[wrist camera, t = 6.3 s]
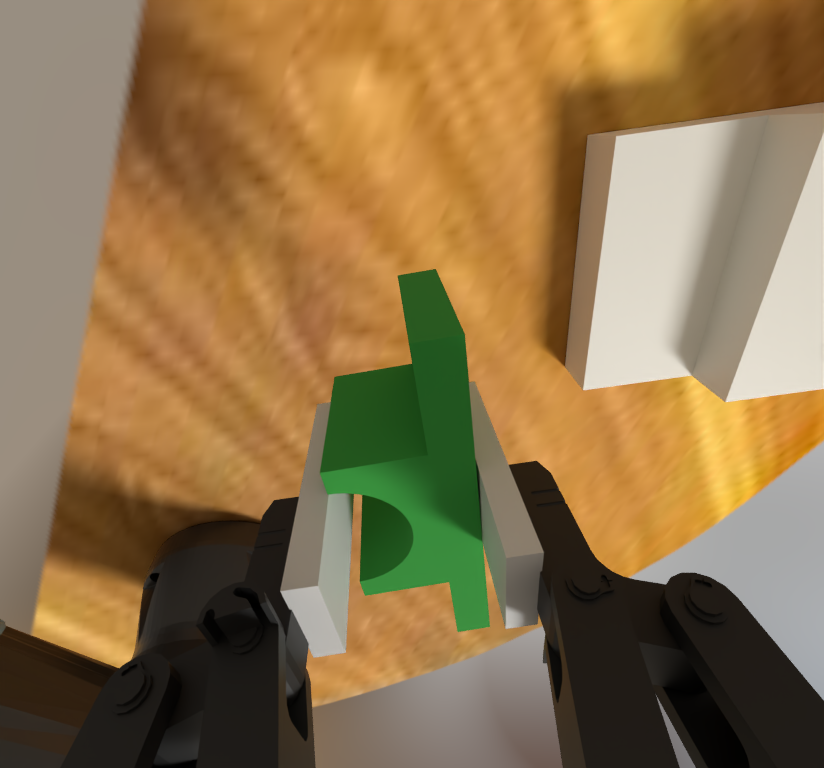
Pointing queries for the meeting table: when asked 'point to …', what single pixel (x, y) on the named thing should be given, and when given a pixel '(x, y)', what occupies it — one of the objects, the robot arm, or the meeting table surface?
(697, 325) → the stepped riser
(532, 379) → the meeting table surface
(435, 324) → the pipe clamp
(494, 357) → the meeting table surface
